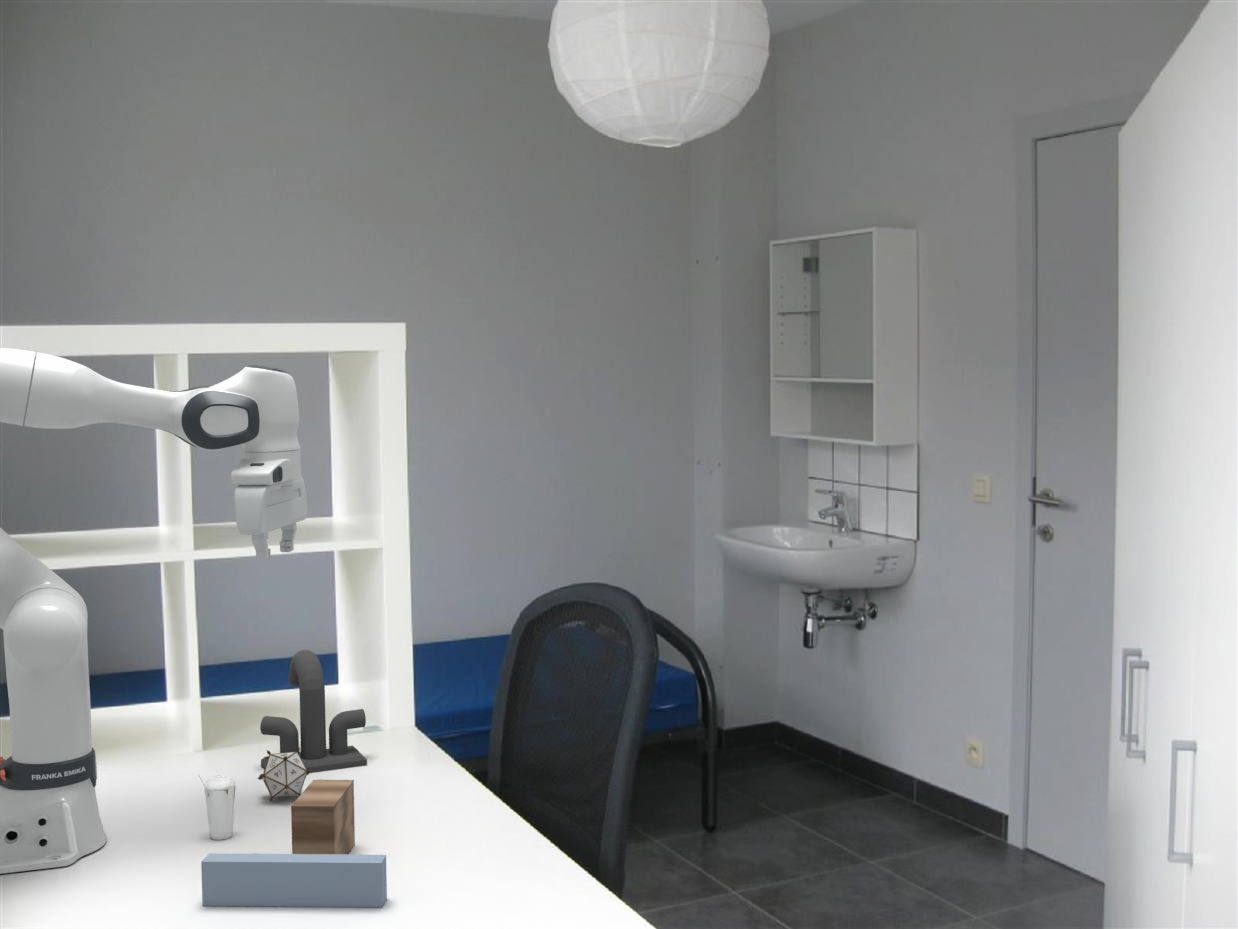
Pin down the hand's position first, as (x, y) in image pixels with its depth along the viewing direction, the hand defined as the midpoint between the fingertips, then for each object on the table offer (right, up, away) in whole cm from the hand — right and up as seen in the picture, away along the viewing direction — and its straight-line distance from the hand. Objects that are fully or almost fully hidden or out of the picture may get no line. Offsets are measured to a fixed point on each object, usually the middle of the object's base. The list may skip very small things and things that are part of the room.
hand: (275, 556), depth 212 cm
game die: (-1, -41, +10) cm, 42 cm away
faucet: (-2, -39, +32) cm, 51 cm away
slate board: (+11, -44, -33) cm, 56 cm away
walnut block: (+12, -43, -17) cm, 48 cm away
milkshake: (-7, -42, -8) cm, 44 cm away
